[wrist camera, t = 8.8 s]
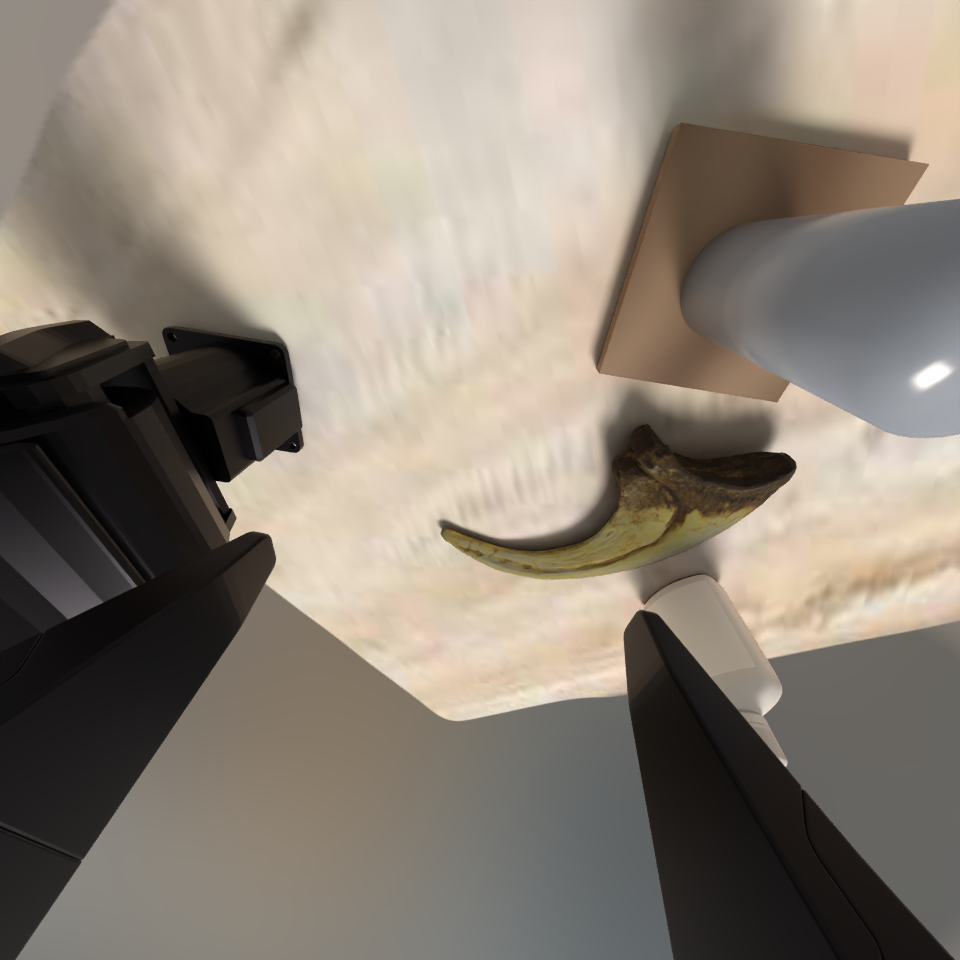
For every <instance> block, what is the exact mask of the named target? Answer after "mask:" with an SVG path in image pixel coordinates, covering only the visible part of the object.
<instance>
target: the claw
mask: <svg viewBox="0 0 960 960" xmlns="http://www.w3.org/2000/svg"><path fill="white" fill-rule="evenodd" d="M630 445H631V448H632V450H633V452H631V451H629V450H628V451H626V452H624V453H621V454H619V455H617V456H616V457H615V458H614V459H613V461H612V471H613V473H614V476H615V478H616V482H617V487H618V496H619V506H618V508H616V510H615V512H614V514H613V516H612V517H611V518H610V520H609V521H608V522H607V524H606V525H605V526H604V527H603V528H602V529H601V530H600V531H599V532H598V533H596V534H595V535H594V536H592V537H591V538H589V539H587V540H585V541H583V542H581V543H578V544H575V545H571V546H566V547H561V548H556V549H551V550H544V551H523V550H516V549H509V548H504V547H500V546H497V545H494V544H491V543H487V542H484V541H481V540H478V539H475V538H472V537H469V536H466V535H463V534H460V533H458V532H455V531H453V530H451V529H443V530H442V531H441V535H442V537H443V538H444V539H445V540H446V541H447V542H449V543H450V544H452V545H453V546H455V547H456V548H457V549H458V550H460V551H462V552H463V553H465V554H466V555H469V556H471V557H472V558H474V559H475V560H477V561H479V562H481V563H483V564H485V565H487V566H489V567H492V568H494V569H496V570H499V571H503V572H507V573H512V574H516V575H520V576H525V577H530V578H536V579H545V580H556V579H577V578H586V577H594V576H602V575H607V574H612V573H617V572H622V571H626V570H631V569H635V568H638V567H642V566H646V565H649V564H652V563H655V562H658V561H661V560H663V559H666V558H668V557H671V556H674V555H677V554H679V553H681V552H684V551H686V550H688V549H690V548H692V547H694V546H696V545H698V544H700V543H702V542H704V541H706V540H708V539H710V538H712V537H714V536H716V535H718V534H719V533H721V532H723V531H725V530H726V529H728V528H729V527H731V526H732V525H734V524H735V523H737V522H738V521H740V520H741V519H743V518H744V517H746V516H747V515H748V514H750V513H751V512H752V511H754V510H755V509H756V508H758V507H759V506H760V505H762V504H763V503H764V502H765V501H766V500H767V499H768V498H769V497H770V496H771V495H772V494H774V493H775V492H776V491H777V490H778V489H779V488H780V487H781V486H783V485H784V484H786V483H787V482H788V481H789V480H790V479H791V477H792V476H793V474H794V473H795V470H796V468H797V467H796V462H795V461H794V460H793V459H792V458H791V457H790V456H789V455H787V454H786V453H773V452H754V453H748V454H740V455H734V456H730V457H722V458H713V459H702V460H696V459H690V458H687V457H684V456H682V455H679V454H676V453H672V451H671V450H670V448H669V447H668V446H667V445H665V444H664V443H663V442H662V441H661V440H660V439H659V437H658V436H657V435H656V434H655V432H654V431H653V430H652V429H651V427H650V426H649V425H648V424H646V425H641V426H640V427H638V428H636V429H635V430H634V431H633V434H632V437H631V442H630Z"/></svg>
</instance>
